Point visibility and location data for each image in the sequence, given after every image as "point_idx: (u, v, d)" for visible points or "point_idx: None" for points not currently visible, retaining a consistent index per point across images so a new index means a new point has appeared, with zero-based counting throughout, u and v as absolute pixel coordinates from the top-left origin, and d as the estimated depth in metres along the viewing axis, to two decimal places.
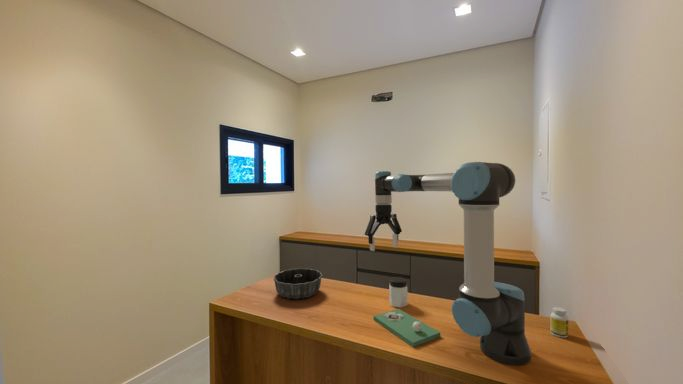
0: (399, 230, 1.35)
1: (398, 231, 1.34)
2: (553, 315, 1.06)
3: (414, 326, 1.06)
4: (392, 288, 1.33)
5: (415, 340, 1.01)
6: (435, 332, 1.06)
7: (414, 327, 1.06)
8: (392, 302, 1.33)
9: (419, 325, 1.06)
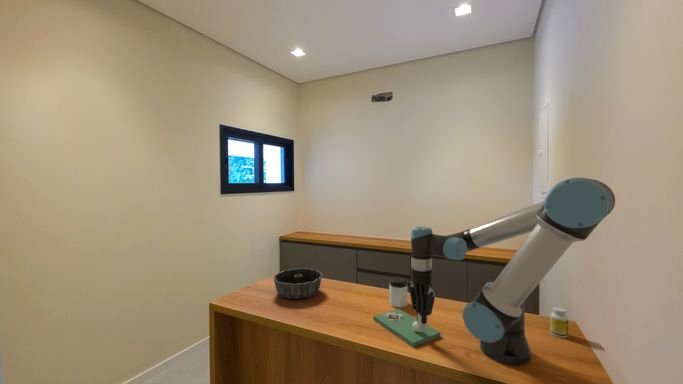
0: (424, 311, 1.02)
1: (422, 313, 1.02)
2: (553, 315, 1.06)
3: (414, 326, 1.06)
4: (392, 288, 1.33)
5: (415, 340, 1.01)
6: (435, 332, 1.06)
7: (414, 327, 1.06)
8: (392, 302, 1.33)
9: None
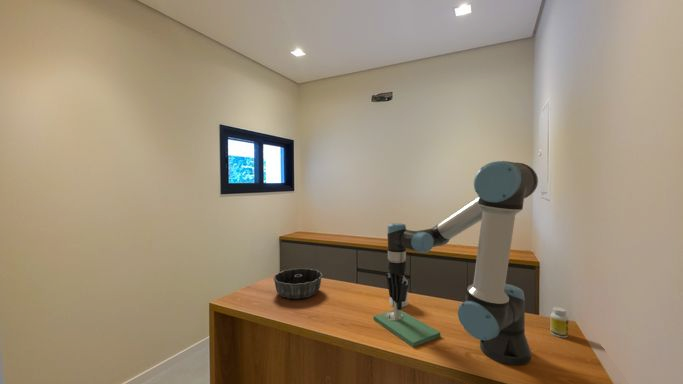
0: (399, 298, 1.14)
1: (397, 300, 1.15)
2: (553, 315, 1.06)
3: (390, 316, 1.19)
4: None
5: (415, 340, 1.01)
6: (435, 332, 1.06)
7: (391, 316, 1.18)
8: (392, 302, 1.33)
9: None
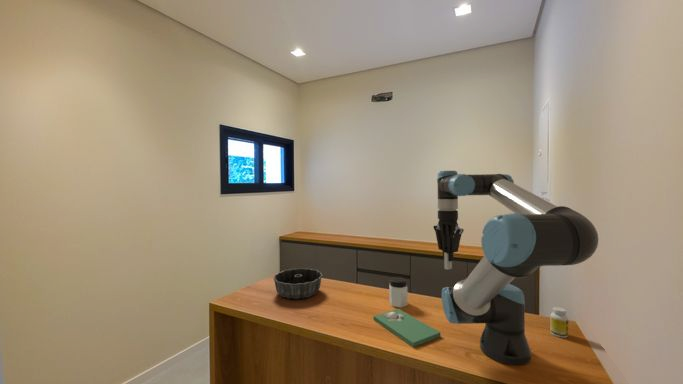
0: (451, 248, 1.08)
1: (449, 251, 1.09)
2: (553, 315, 1.06)
3: (389, 316, 1.19)
4: (392, 288, 1.33)
5: (415, 340, 1.01)
6: (435, 332, 1.06)
7: (389, 316, 1.19)
8: (392, 302, 1.33)
9: None
